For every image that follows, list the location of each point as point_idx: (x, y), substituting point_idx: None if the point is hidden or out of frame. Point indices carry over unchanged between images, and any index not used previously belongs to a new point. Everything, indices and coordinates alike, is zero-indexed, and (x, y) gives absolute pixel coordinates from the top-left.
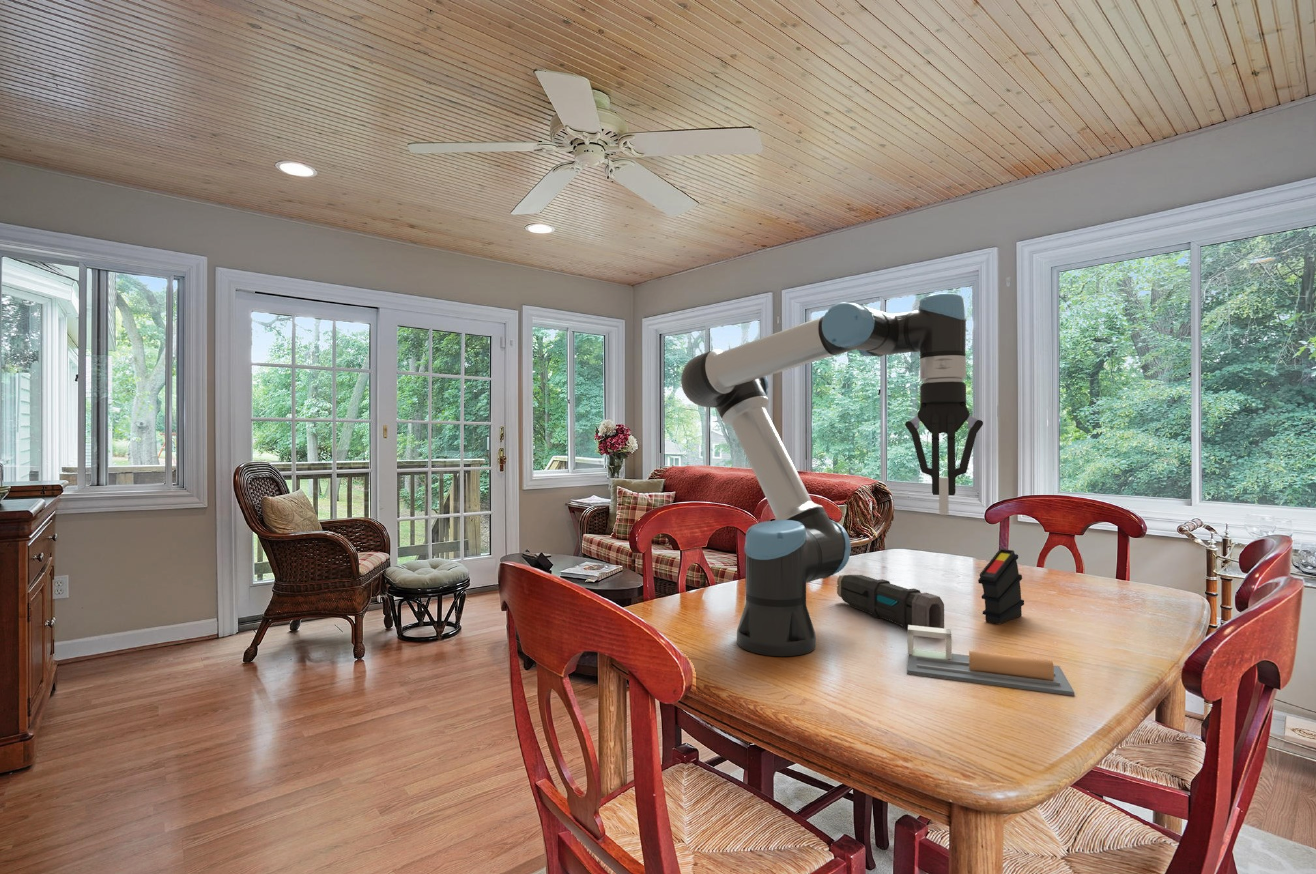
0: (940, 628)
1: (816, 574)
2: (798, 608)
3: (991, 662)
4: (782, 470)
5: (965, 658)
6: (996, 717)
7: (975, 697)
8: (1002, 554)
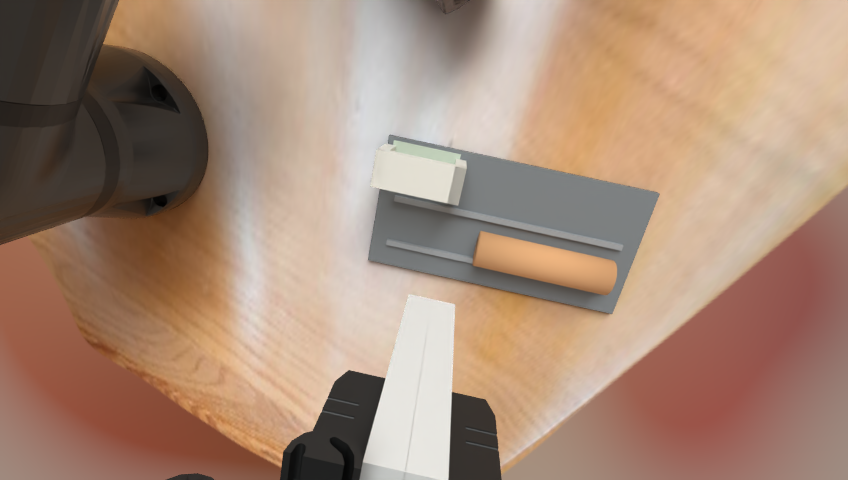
0: (444, 167)
1: (81, 100)
2: (116, 195)
3: (508, 273)
4: None
5: (488, 179)
6: (461, 391)
7: (454, 334)
8: None
